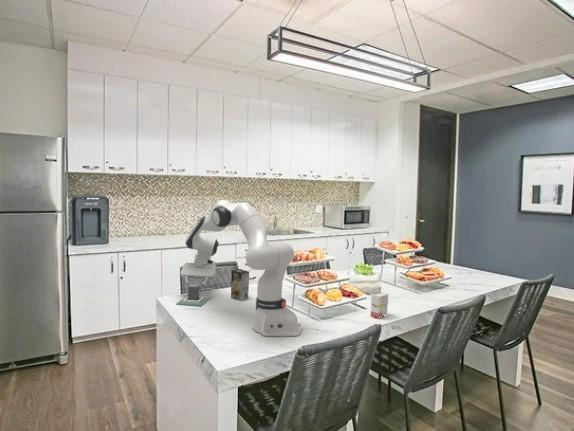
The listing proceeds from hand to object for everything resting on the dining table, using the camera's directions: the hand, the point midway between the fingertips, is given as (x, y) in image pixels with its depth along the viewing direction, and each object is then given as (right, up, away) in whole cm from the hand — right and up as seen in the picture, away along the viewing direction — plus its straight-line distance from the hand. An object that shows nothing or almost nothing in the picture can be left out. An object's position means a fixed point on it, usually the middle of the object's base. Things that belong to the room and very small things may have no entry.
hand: (195, 284), depth 206 cm
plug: (0, -8, -3) cm, 9 cm away
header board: (0, -9, -3) cm, 9 cm away
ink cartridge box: (+99, -14, -16) cm, 101 cm away
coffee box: (+24, -9, +7) cm, 27 cm away
